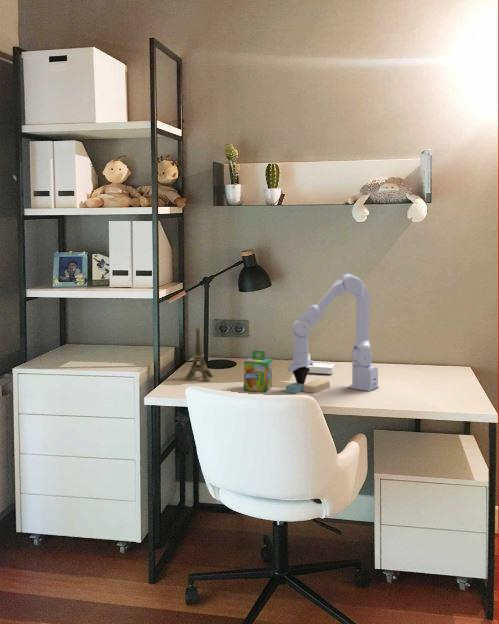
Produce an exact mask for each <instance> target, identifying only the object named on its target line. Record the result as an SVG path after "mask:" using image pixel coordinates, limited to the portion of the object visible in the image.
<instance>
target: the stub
mask: <svg viewBox="0 0 499 624" xmlns="http://www.w3.org/2000/svg"><path fill="white" fill-rule="evenodd" d="M303 385H305V383H304V384H300V383H297V382H293V383H290V384H288V385H287V384H286V385H285V392H286V393H289V392H290V394H294V393H295V394H297V393H300V392H304V391H303Z"/></svg>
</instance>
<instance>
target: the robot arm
mask: <svg viewBox="0 0 499 624" xmlns="http://www.w3.org/2000/svg"><path fill="white" fill-rule="evenodd" d="M347 292H348V293H350V294H351V295H352V296H353V297H354V298H355V299H356V310H355V311H356V312H355V317H356V318H355V340H354V343H353V348H352V350H351V358H352V359H353V361H352V365H351V366H352V368H351V369H352V370H351V371H352V372H351V373H352V375H351V385H348V386H347V388H349V389H352V390H353V389H355V390H361V391H366V392H370V391H373V390H375V389H377V388H380V387H379V370H378V367H377V366H374V365H372V363H373V357H374V356H373V353H372V350H371V347H372V346H371V344H370V318H371V317H370V311H371V310H370V309H371V294H370V292H369V290H368V288H367V287H366V285H365V283H364V281H363V280H362V279H360V277H358V276H356V275H353V274H351V273H344V274H343V275H341V277H340V278H338V279H337V280H336V281H335V282H334V283H333V285H332V286H331V287H330V288H329V289H328V291H326V293H325V294H324V295H323V297H321V298H320V300H319V301H318V302H317V304H311V305H310V306H309V305H308V306H307V307H306V311H305V312H304V313H303V314H302V315H300V316H298V320H295V321H294V322H293V323H292V326H291V330H292V332H293V341H292V356H293V357H292V361H291V362H290V365H288V366H287V372H291V373H292V375H294V378H295V381H296V382H295V383H300V384H304V385H305V384H306V383H305V382H306V380H307V376H308V374H309V373H308V372H309V370H310V368H306V366H309V365H313V363H314V360H313V359H310V360H308V353H309V334H310V332H311V328H313V326H315V324H316V323H317V322H319V320H320V319H321V318H322V317H323V315H324V310H325V309H326V308H327V307H328V306H329V305H330V304H331V303H332V302H333V301H334V300H335V299H336V298H337V297H338V296H341V295H346V294H347Z"/></svg>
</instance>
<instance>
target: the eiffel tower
mask: <svg viewBox="0 0 499 624" xmlns="http://www.w3.org/2000/svg"><path fill="white" fill-rule="evenodd" d="M194 331H195V332H196V333H195V334H196V335H195V344H194V345H195V347H194V354H193V356H192V357H193V361H192V364H191V366H190V367H191V368H190V370H189V371H188V373H187V375H186V376H185V378H184V379H183V380H182V381H183V382H191V381H192V377H193V378H194V377H196V372H200V373H201V374H202V381H201V382H202V383H203V382H204V383H210V381H211V379H210V378H214V377H215V375H214V374H213V373H212V371H211V370H210V369H209V368H208V366H207V363H206V362H205V359H204V356H205V354H204V353H203V348H202V340H201V339H202V338H201V331H202V329H201V327H199V326H197V327H196V328H195V329H194ZM198 360H199V363H198Z"/></svg>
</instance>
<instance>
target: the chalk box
mask: <svg viewBox="0 0 499 624" xmlns="http://www.w3.org/2000/svg"><path fill="white" fill-rule="evenodd" d="M265 352H266V351H265V350H253V351H252V356H250V357H248V358H247V359H246V360H244V364H243V366H244V367H243V391H244V392H259V393H267V392H268V391H269V390H271V388H272V387H273V386H272V384H273V359H272V358H270V357H266V356H265V354H266V353H265ZM258 354H260V356H256V355H258Z"/></svg>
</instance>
